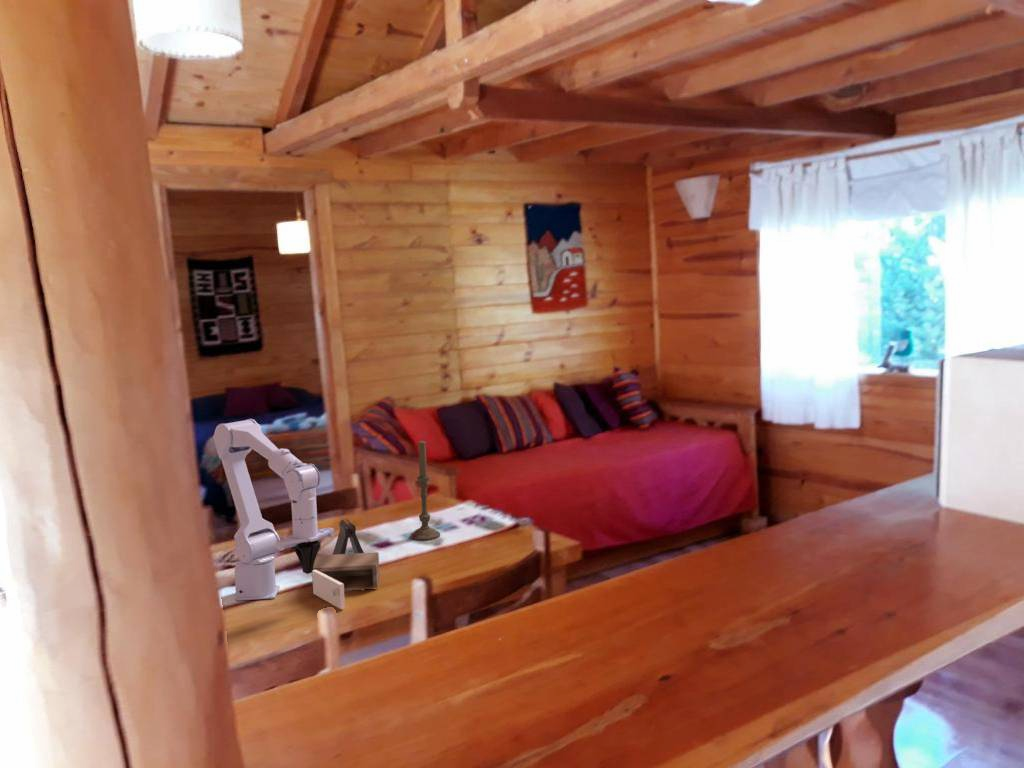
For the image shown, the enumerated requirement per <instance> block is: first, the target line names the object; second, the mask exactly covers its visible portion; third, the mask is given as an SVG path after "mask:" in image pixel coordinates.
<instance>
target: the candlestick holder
mask: <svg viewBox="0 0 1024 768" xmlns="http://www.w3.org/2000/svg"><path fill="white" fill-rule="evenodd" d="M417 443H418V469H419V470H418V471H419V475H417V476H416V479H417V480H418V483H417V486H418V487H419V488H420V498H421V514H419V515H418V518H419V521H420V522H421V526H420V527H419V528H417V529H415V530H414V531H413V532H411V533H410V538H411V539H412V540H416V541H421V542H422V541H433V540H436V539H438V538H439V537H441V532H439V531H438V530H437V529H435V528H433V527H430V525H429V521H430V520H431V514H430V513H429V512H428V510H427V505H428V504H427V500H428V499H427V498H428V491H427V488H428V487H429V485H430V482H429V479H431V477H430V476H429V475H428V473H427V452H426V451H427V449H426V448H427V447H426V445H427V444H426V443H427V442H426V441H424V440H420V441H418V442H417ZM432 539H433V540H432Z"/></svg>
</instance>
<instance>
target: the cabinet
mask: <svg viewBox="0 0 1024 768" xmlns="http://www.w3.org/2000/svg"><path fill="white" fill-rule="evenodd" d="M379 554H380V553H379V552H376V551H375V552H364V553H355V554H354V553H345V554H336V555H333V554H321V555H318V554H317V555H316V558H315V562H314V566H313V570H318V571H320V572H322V573H324V574H325V575H327V576H329V577H331V578H333V579H335V580H337V581H339V582H341V583H343V584H344V592H352V591H351V590H362V589H374V588H377V587H378V588H379V583H378V581H380V574H381V573H380V555H379ZM311 581H312V584H313V579H312V578H311ZM349 590H350V591H349ZM362 591H363V590H362Z"/></svg>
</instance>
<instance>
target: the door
mask: <svg viewBox="0 0 1024 768" xmlns="http://www.w3.org/2000/svg"><path fill="white" fill-rule="evenodd" d="M312 579H313V583H312V594H313V595H315V596H317V597H318V598H321V600H324V601H325V602H328V603H330V604H331V605H333V606H335V607H336V608H337V609H340V610H343V609H346V600H345V591H344V584H343V583H341V582H339V581H337V580H335V579H333V578H331V577H329V576H327V575H325V574H324V573H322V572H320V571H318V570H313V571H312V573H311V580H312Z"/></svg>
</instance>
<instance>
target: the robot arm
mask: <svg viewBox="0 0 1024 768" xmlns="http://www.w3.org/2000/svg"><path fill="white" fill-rule="evenodd" d="M212 438H213V442H214V446H215V448H216V453H217V455H218V458H219V459H220V460H221V462H222V466H223V470H224V473H225V477H226V479H227V483H228V486H229V489H230V493H231V496H232V500H233V502H234V503H233V504H234V506H235V509H236V512H237V516H238V519H239V522H240V527H239V528H238V530H237V531H236V533H234V536H233V538H234V542H235V555H236V557H237V558H238V559H239V560H238V561H236V562H235V565H234V585H235V601H252V600H269V599H275V598H276V596H277V593H278V592H279V590H280V588H281V586H280V585H276V582H277V581H276V570H275V567H276V566H275V559H276V558H277V553H279V551H280V552H281V551H285V550H286V549H288V548H292V549H293V551H294V553H295V554H296V556H297V558H298V560H299V563H300V566H301V569H302V573H304V574H306V575H309V574H312V571H313V566H314V562H315V559H316V557H317V556H318V553H319V551H320V549H321V546H322V544H321V542H320V541H319V540H322V539H327V538H334V537H335V529H334V528H333V527H329V526H328V527H325V528H318V526H319V525H318V511H317V510H318V508H317V488H318V487H319V486H320V483H321V473H320V471H319V469H318V468H317V466H315V464H313V463H306V462H305V463H304V462H302V461H301V460H300V459H298V457H296V456H295V455H294V454H292V453H291V451H290V449H288V448H278V447H277V446H276V445H275V444H274V443H273V442H272V441H271V440H270V439H269V438H268V436H266V435H265V434H264V433H263V432H262V427H261V424H259V423H257V421H256V420H255V419H252V418H248V419H245V420H239V421H234V422H228V423H219V424H218V425H217V426H216V427H215V430H214V434H213V436H212ZM252 450H253V451H255V452H256V453H258V454H259V455H261V456H262V457H263V458H265V459H266V460H267V462H268V465H267V466H268V467H269V468H270V470H272V471H273V472H274V473H275V474H277V475H278V476H279V477H280V478H282V479H283V482H284V486H285V488H286V490H287V492H288V497H289V500H290V503H291V504H290V505H291V519H292V534H291V535H289V536H286V537H283V538H280V535H279V534H278V533H277V531H276V530H275V527H274V524H273V523H272V522H270V521H268V520H266V519H264V518H263V517H262V516H263V515H262V513H261V512H262V511H261V509H260V506H259V503H258V498H257V496H256V494H255V490H254V489H255V488H254V486H253V483H252V480H251V477H250V473H249V471H248V470H249V469H248V467H247V463H246V461H245V460H246V457H247V455H248V454H249V453H251V451H252ZM251 534H252V535H251Z"/></svg>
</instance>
